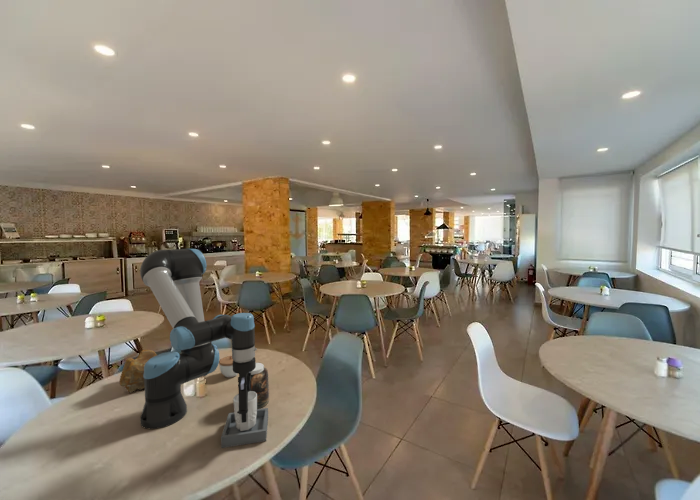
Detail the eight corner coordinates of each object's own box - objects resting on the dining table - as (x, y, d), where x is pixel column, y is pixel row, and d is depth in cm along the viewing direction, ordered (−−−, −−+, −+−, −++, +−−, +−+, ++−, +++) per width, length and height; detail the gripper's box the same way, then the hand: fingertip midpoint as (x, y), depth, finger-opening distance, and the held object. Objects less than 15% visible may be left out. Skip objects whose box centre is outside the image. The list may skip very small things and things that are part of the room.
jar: (233, 407, 121) (231, 370, 121) (252, 393, 132) (250, 359, 132) (257, 412, 117) (256, 374, 117) (275, 397, 128) (273, 362, 128)
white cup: (250, 432, 101) (249, 403, 101) (229, 430, 103) (228, 401, 102) (262, 418, 109) (261, 391, 109) (242, 416, 111) (241, 390, 110)
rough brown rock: (155, 397, 132) (157, 363, 132) (112, 398, 129) (114, 363, 129) (175, 375, 155) (176, 346, 155) (139, 376, 152) (140, 346, 152)
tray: (221, 448, 98) (221, 437, 98) (229, 422, 111) (228, 413, 111) (266, 440, 101) (265, 430, 101) (268, 416, 114) (268, 407, 114)
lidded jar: (247, 372, 153) (246, 354, 152) (228, 381, 144) (227, 362, 143) (233, 368, 158) (232, 350, 158) (214, 376, 149) (214, 357, 149)
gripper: (252, 369, 96) (254, 439, 97) (257, 347, 116) (259, 405, 117) (227, 372, 94) (229, 443, 95) (237, 349, 114) (239, 408, 115)
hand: (246, 422), depth 106 cm, fingers closed on white cup, 7 cm apart
